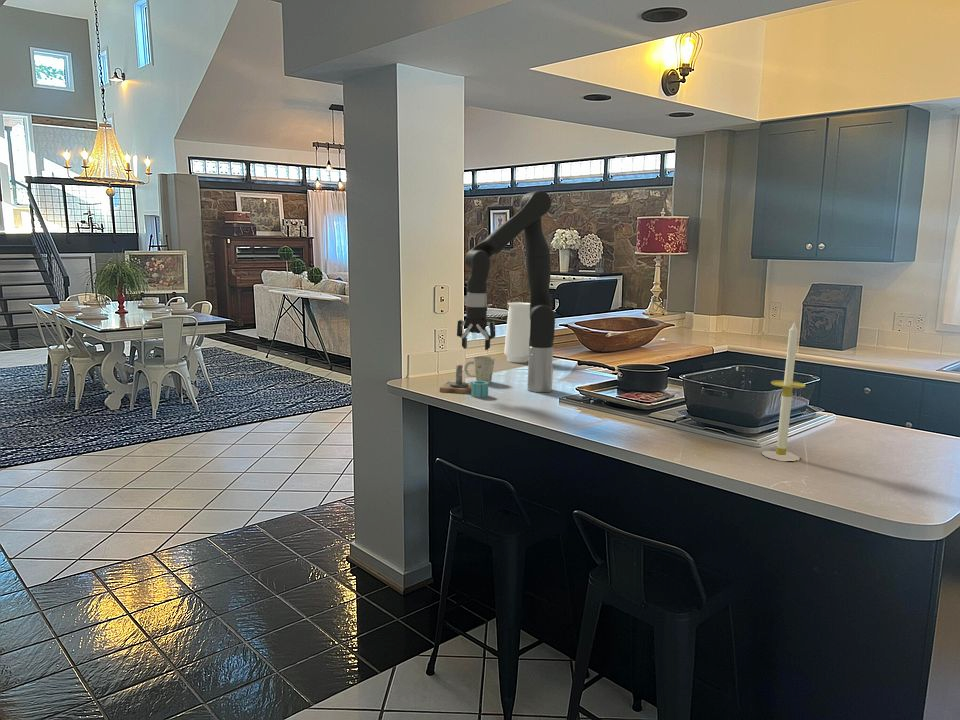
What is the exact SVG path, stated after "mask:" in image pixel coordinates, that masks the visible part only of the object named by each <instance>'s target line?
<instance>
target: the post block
mask: <svg viewBox="0 0 960 720" xmlns="http://www.w3.org/2000/svg"><path fill="white" fill-rule="evenodd" d="M471 383H472V382H464V381H463V364H456V365H455V381H447V382H446V383H444V384H443V385H442V386H440V387H439V392H440V393H454V394H466V395H468V394H469V395H471Z"/></svg>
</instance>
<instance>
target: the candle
mask: <svg viewBox="0 0 960 720" xmlns="http://www.w3.org/2000/svg"><path fill="white" fill-rule="evenodd" d="M798 334H799V329H798V328H797V325H796V320H795V319H794V321H793V323H792V326H791V327H790V328H789V330H788V337H787V339H788V340H787V350H786V360H785V370H784V377H783V380H782V379H781V380H777V379H776V380H772V381H770V384H771V385H773V386H775V387H780V388H781V390H782V391H781V401H780V410H779V418H778V419H779V420H778V421H779V422H778V429H777V430H778V431H777V439H776V449H775V450H776V454H778V455H786V451H787V449H788V448H787V447H788V438H789V429H790V428H789V427H790V420H791V419H790V417H791V409H792V399H793V390H794V389H804V388H806V384H805V383H802V382H798V381H794V374H795V373H794V371H795V363H796V353H797V343H798Z"/></svg>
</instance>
